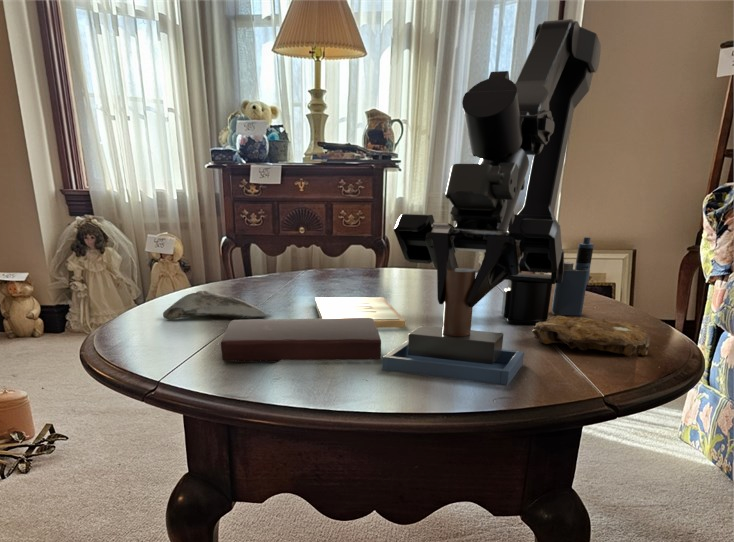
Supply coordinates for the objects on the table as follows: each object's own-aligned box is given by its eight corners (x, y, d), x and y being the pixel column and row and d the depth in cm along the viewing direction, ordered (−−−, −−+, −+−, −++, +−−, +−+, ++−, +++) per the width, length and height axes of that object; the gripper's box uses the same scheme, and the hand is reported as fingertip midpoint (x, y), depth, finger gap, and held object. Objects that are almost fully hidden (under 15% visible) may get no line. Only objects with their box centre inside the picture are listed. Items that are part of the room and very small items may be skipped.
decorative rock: (531, 358, 85) (651, 369, 82) (536, 327, 83) (660, 337, 80) (527, 334, 94) (635, 343, 92) (532, 305, 92) (643, 314, 90)
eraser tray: (381, 373, 76) (382, 356, 75) (408, 355, 84) (408, 339, 83) (506, 389, 71) (508, 371, 70) (522, 367, 79) (524, 351, 78)
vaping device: (584, 316, 108) (597, 238, 103) (553, 315, 108) (564, 238, 103) (580, 313, 111) (592, 237, 105) (549, 312, 111) (560, 236, 105)
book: (381, 363, 80) (381, 336, 79) (221, 364, 79) (219, 337, 77) (372, 340, 91) (372, 316, 90) (232, 340, 90) (230, 316, 88)
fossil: (256, 302, 98) (161, 288, 99) (253, 333, 100) (160, 319, 101) (275, 299, 109) (189, 286, 110) (273, 327, 110) (188, 314, 111)
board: (315, 306, 113) (315, 297, 113) (383, 305, 115) (383, 296, 114) (324, 331, 96) (324, 320, 95) (405, 330, 97) (405, 319, 97)
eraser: (407, 355, 76) (411, 269, 72) (420, 345, 81) (424, 264, 76) (492, 364, 73) (501, 275, 69) (501, 354, 77) (510, 270, 73)
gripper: (403, 135, 73) (357, 249, 70) (572, 133, 66) (530, 261, 62) (426, 208, 83) (386, 311, 80) (576, 214, 76) (539, 328, 72)
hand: (454, 303), depth 73 cm, fingers closed on eraser, 3 cm apart
